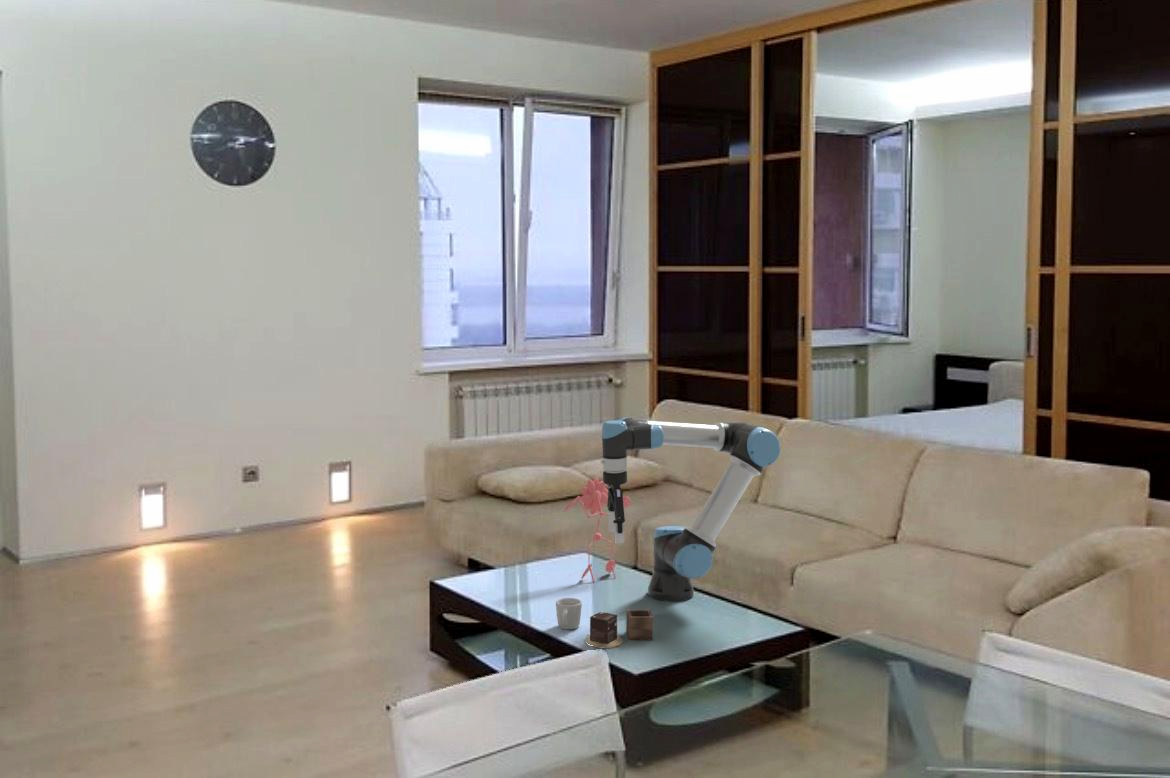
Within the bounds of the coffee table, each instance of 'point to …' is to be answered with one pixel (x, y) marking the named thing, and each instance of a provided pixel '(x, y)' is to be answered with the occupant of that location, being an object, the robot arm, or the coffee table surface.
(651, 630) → the pen pot
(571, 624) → the cup
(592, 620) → the box
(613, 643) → the coaster
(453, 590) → the coffee table surface
